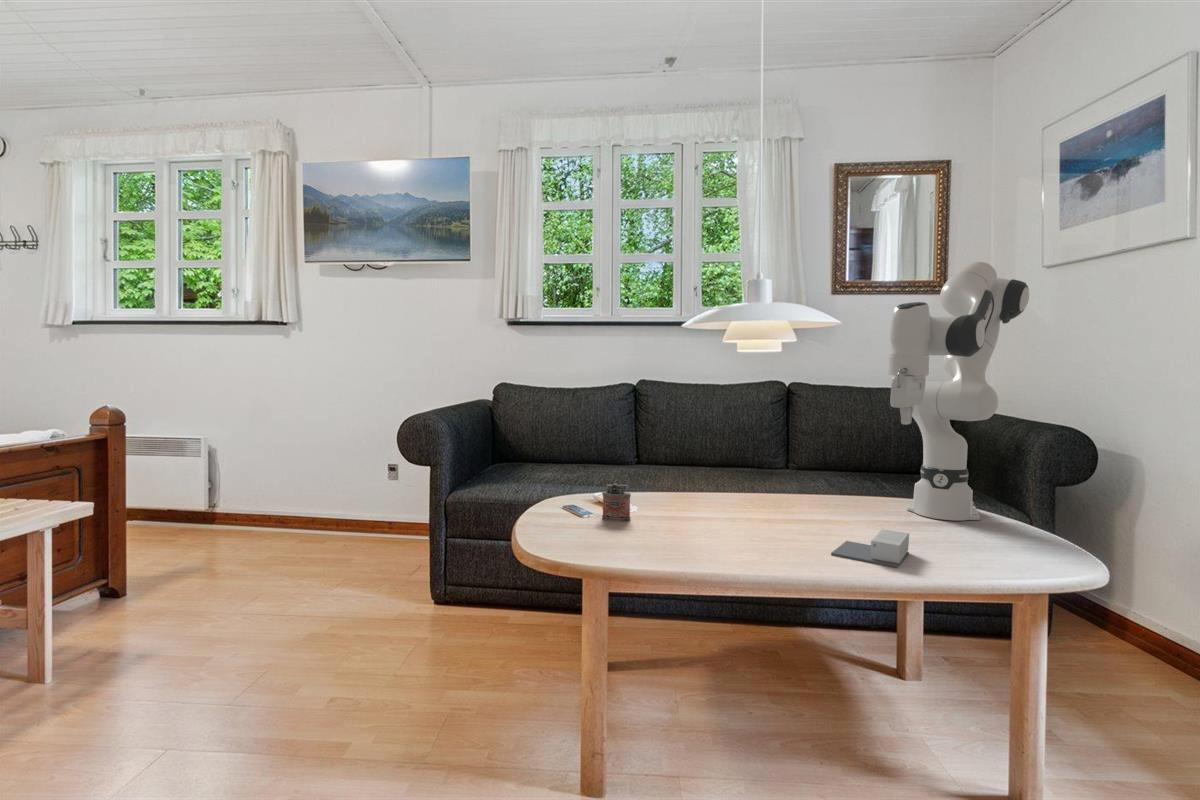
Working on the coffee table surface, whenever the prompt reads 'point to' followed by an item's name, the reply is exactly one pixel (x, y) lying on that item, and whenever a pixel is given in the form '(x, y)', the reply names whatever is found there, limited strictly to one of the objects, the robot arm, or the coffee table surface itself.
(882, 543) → the skincare box
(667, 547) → the coffee table surface
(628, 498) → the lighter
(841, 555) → the mat
